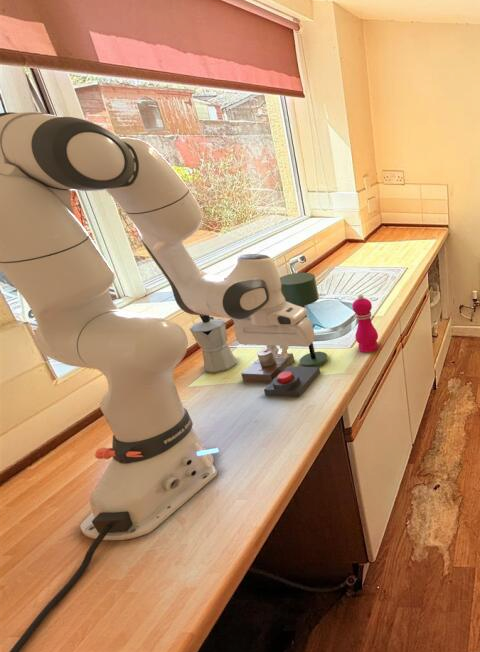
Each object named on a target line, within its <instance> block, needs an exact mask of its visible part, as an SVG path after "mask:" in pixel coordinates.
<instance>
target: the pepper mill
mask: <svg viewBox="0 0 480 652" xmlns="http://www.w3.org/2000/svg"><path fill="white" fill-rule="evenodd" d="M351 305H352V310H353V312H354V313H355V314H354V315H355V319H357V328H356V331H355V342H356V343H357V344H358V345H357V346H358V351H360V352H361V353H367V354H368V353H372V352H374V351H376V350H377V349H378V347H379V343H378V339H379V334H378V331H377V329H376V328H375V326H374V325H373V323H372V319H371V317H372V308H373V305H372V302H371V301H370V299H368V298H366V297H365V298H364V295H363V294H358V295H357V299H355V300H354V301H353V302H352V304H351Z"/></svg>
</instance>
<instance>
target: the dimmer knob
mask: <svg viewBox="0 0 480 652" xmlns="http://www.w3.org/2000/svg"><path fill="white" fill-rule="evenodd" d="M256 354H257V357H258V358H257V359H259V361H260V365H261V366H270V365H272V364H274V363H275V358H274V355H273V353H272V352H271V351H270V350H269V349H268V348H267V347H266V348H263V349H260V350H259V351H257V352H256Z"/></svg>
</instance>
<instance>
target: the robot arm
mask: <svg viewBox="0 0 480 652" xmlns="http://www.w3.org/2000/svg"><path fill="white" fill-rule="evenodd" d="M72 191H80V192H101V191H105V192H106V193H107V194H108V195H109V196H111V198H113V201H114V202H115V203H116V204H117V205H118V207H120V209H121V210H122V211H123V213H124V214H125V215H126V217H127V218H128V219H129V220H130V221H131V223H132V224H133V225H134V227H135V228H136V231H137V235H138V237H139V239H140V241H141V243H142V245H143V246H144V248H145V250H146V251H147V253H148V254H149V256H150V257H151V259H152V260H153V261H154V263H155V264H156V265H157V267H158V268H159V271H161V273H162V274H163V276H164V277H165V279H166V280H167V281H168V283H169V285H170V287H171V290H172V295H173V297H174V300H175V302H176V304H177V306H178V308H180V309H181V310H182V312H185V313H186V314H189V315H193V316H200V315H209V316H210V317H215V318H216V317H217V318H221V319H231V320H232V321H233V326H234V334H235V339H236V341H237V343H238V344H240V345H243V346H244V345H245V346H246V345H247V346H249V345H250V346H266V349H267V348H268V349H269V350H270V351H271V352H272V353H273V355H274V358H286V357H287V356H288V353H289V352H288V349H289V347H301V348H303V347H304V348H307V347H308V346H309V345H310V344H311V343H312V342H313V343H314V341H315V339H316V334H315V330H314V327H313V324H312V322H311V320H310V318H308V310H307V309H306V307H305V308H304V307H300V306H297V305H294V304H292V303H289V302H286V300H285V297H284V296H283V294H282V291H281V280H280V277H281V276H280V274H279V271H278V267H277V266H276V264H275V261H274V260H273V258H272V257H270V256H269V255H266V254H260V253H247V254H241V255H239V256H237V257H236V258H235V263H234V266H233V267H232V269H231V270H230V271H229V272H228V273H227V274H226V275H225V276H219V275H213V274H210V273H208V272H205V271H203V270H201V269H200V268H199V267H198V266H197V263H196V262H195V261H194V259H193V257H192V255H191V254H190V252H189V250H188V249H187V248H186V246H185V243H184V241H186V240H187V239H189V238H191V237H192V236H193V235H195V233H197V232H198V230H199V229H200V228H201V225H202V224H203V218H204V214H203V212H202V209H201V206H200V204H199V202H198V201H197V199H196V198H195V195H194V194H193V193H192V192H191V190H190V189H189V187H188V186H187V184H186V183H185V181H184V180H183V179H182V178H181V176H180V175H179V174H178V173H177V171H176V170H175V168H173V166H172V165H171V164H170V163H169V162H168V160H166V158H164V156H163V155H162V154H161V153H160V152H159V151H158V150H157V149H156V148H155V147H154V146H152V145H151V144H150V143H149V142H147V141H145V140H142V139H139V138H133V137H118V136H117V135H116V134H115V133H113V132H111V131H110V130H108V129H106V128H105V127H103V126H101V125H99V124H97V123H94V122H93V121H90V120H86V119H84V118H79V117H75V116H61V115H56V114H52V113H46V112H38V111H37V112H34V111H31V112H29V111H28V112H27V111H25V112H11V111H10V112H9V111H7V112H0V271H1V272H2V273H3V274H4V276H5V277H6V279H8V281H9V282H10V283H11V284H12V285H13V287H14V288H15V289H16V290H17V292H18V293H19V294H20V295H21V297H23V299H24V301H25V302H26V304H27V305H28V306H29V308H30V310H31V313H32V314H33V317H34V319H35V322H36V325H37V327H36V329H35V331H34V344H35V346H36V348H37V349H38V351H39V352H40V353H41V354H43V355H44V356H46V357H48V358H50V359H52V360H53V361H56V362H57V363H58V362H59V363H61V364H63V365H66V366H69V367H77V368H84V369H90V370H97V371H99V372H100V373H102V375H103V376H104V377H105V378H106V381H107V387H108V391H107V392H106V393H105V394H104V395H103V396H102V398H101V400H100V402H99V407H100V408H99V409H100V410H101V412H102V414H103V417H104V418H105V421H106V422H107V424H108V426H109V428H110V430H111V432H112V445H111V447H99V448H98V449H97V450H96V451H95V453H94V458H95V459H97V460H102V459H104V460H110V459H111V458H112V459H111V461H110V463H109V464H108V465H107V468H106V469H105V471H104V473H103V474H102V476H101V478H100V479H99V481H98V483H97V485H96V486H95V488H94V489H93V491H92V493H91V494H90V498H89V505H90V509H91V512H90V514H89V515H87V516H86V517H85V519H84V520H83V521H82V522H81V523H80V524H79V528H80V531H81V533H82V534H83V535H84V536H85V537H87V538H90V539H94V540H93V542H92V543H91V545H90V546H89V548H88V549H87V551H86V553H85V555H84V558H83V561H82V562H81V565H80V566H78V569H77V570H76V571H75V572H74V574H73V575H72V577H71V578H70V579H69V580H68V581H67V582H66V584H65V585H63V587H62V588H61V589H60V590H59V592H58V593H56V595H55V596H54V597H53V598H51V600H50V601H49V602H48V603H47V604H46V605H45V606H44V608H43V609H42V610H41V611H40V613H39V614H38V615H37V617H35V618H34V619H33V621H32V623H30V625H29V626H28V627H27V629H25V631H24V633H23V634H22V635H21V637H20V638H19V639H18V640H17V642H16V643H15V644H14V645H13V646H12V648H11V649H10V650H9V652H20V651H21V650H22V648H23V647H24V646H25V644H26V643H27V642H28V641H29V639H30V638H31V637H32V635H33V634H34V632H36V630H37V628H38V627H40V625H41V624H42V622H43V621H44V620H45V619H46V617H47V616H48V615H49V614H50V612H51V611H52V610H53V609H54V608H55V606H56V605H57V604H58V603H59V602H60V601H61V600H62V598H63V597H64V596H66V594H67V593H68V592H69V591H70V590H71V589H72V588H73V587H74V585H75V584H76V583H77V582H78V580H79V579H80V578H81V577H82V576H83V574H84V572H85V571H86V569H87V568H88V566H89V565H90V563H91V561H92V559H93V556H94V554H95V552H96V551H97V548H98V547H99V545H100V544H101V543H102V542H103V541H123V540H130V539H135V538H139V537H142V536H144V535H147V534H150V533H151V532H153V531H154V530H155V529H156V528H158V527H159V526H160V525H161V524H162V523H164V521H165V520H167V519H168V518H169V517H170V516H171V515H172V514H174V513H175V512H176V511H178V509H180V508H181V507H182V506H183V505H184V504H186V503H187V502H188V501H189V500H190V499H191V498H192V497H193V496H195V495H196V494H197V493H198V492H199V491H200V490H202V488H204V487H205V486H206V485H207V484H209V483H210V482H211V481H212V480H213V479H214V478H215V477H216V476H217V475H218V470H217V468H216V467H215V465H214V463H215V459H214V458H215V457H214V455H213V454H217V453H219V452H220V451H219V448H218V447H216V448H209V449H207V448H206V447H205V445H204V444H203V443H202V442H201V440H200V439H199V437H198V436H197V434H196V432H195V431H194V428H193V425H194V424H193V421H192V418H191V415H190V414H189V412H188V409H187V408H186V407H184V406H183V403H182V401H181V398H180V395H179V392H178V390H177V387H176V383H175V369H176V367H177V366H178V365H179V364H180V363H181V362H182V360H183V359H184V357H185V356H186V353H187V351H188V345H189V339H188V335H187V333H186V331H185V330H184V328H183V327H182V326H180V325H179V324H177V323H176V322H174V321H171V320H168V319H165V318H163V317H159V316H158V315H153V314H146V313H136V312H128V311H124V310H122V309H120V308H119V307H118V306H117V305H116V304H115V303H114V301H113V297H112V296H111V292H110V289H111V287H112V286H113V284H114V282H115V278H116V277H115V273H114V271H113V269H112V268H111V266H110V265H109V263H108V261H107V260H106V258H105V257H104V255H103V254H102V253H101V251H100V249H99V248H98V247H97V244H96V243H95V242H94V241H93V239H92V238H91V236H90V235H89V233H88V231H87V230H86V229H85V228H84V226H83V225H82V224H81V222H80V221H79V220H78V218H77V217H76V214H75V212H74V209H73V206H72V193H73V192H72ZM306 315H307V317H305V316H306ZM277 346H278V347H279V348H280V349H279V348H278V347H277ZM308 348H309V347H308Z"/></svg>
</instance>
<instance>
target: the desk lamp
mask: <svg viewBox="0 0 480 652" xmlns="http://www.w3.org/2000/svg"><path fill="white" fill-rule="evenodd" d="M279 277H280V280H281V291H282V294H283V296H284V297H285V300H286V302H289V303H292V304H294V305H297V306H300V307H304V308H305V309H306V306H308V305H311V304H314V303H316V302H317V301H319V298H320V296H319V291H318V285H317V281H316V280H317V279H316V275H315V274H314V273H310V272H295V273H289V274H285V275H283V276H279ZM305 317H307V318H308V314H307V315H306V316H305ZM308 350H309V353H306V354H304V355H303V356H301V357H300V358H299V365H300V367H319V368H320V367H323V366H324V365H325V364H327V363H328V360H329V358H328V354H327V353H326V352H324V351H315V346H314V341H313V342H312V343H311V344H310V345H309V346H308Z"/></svg>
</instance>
